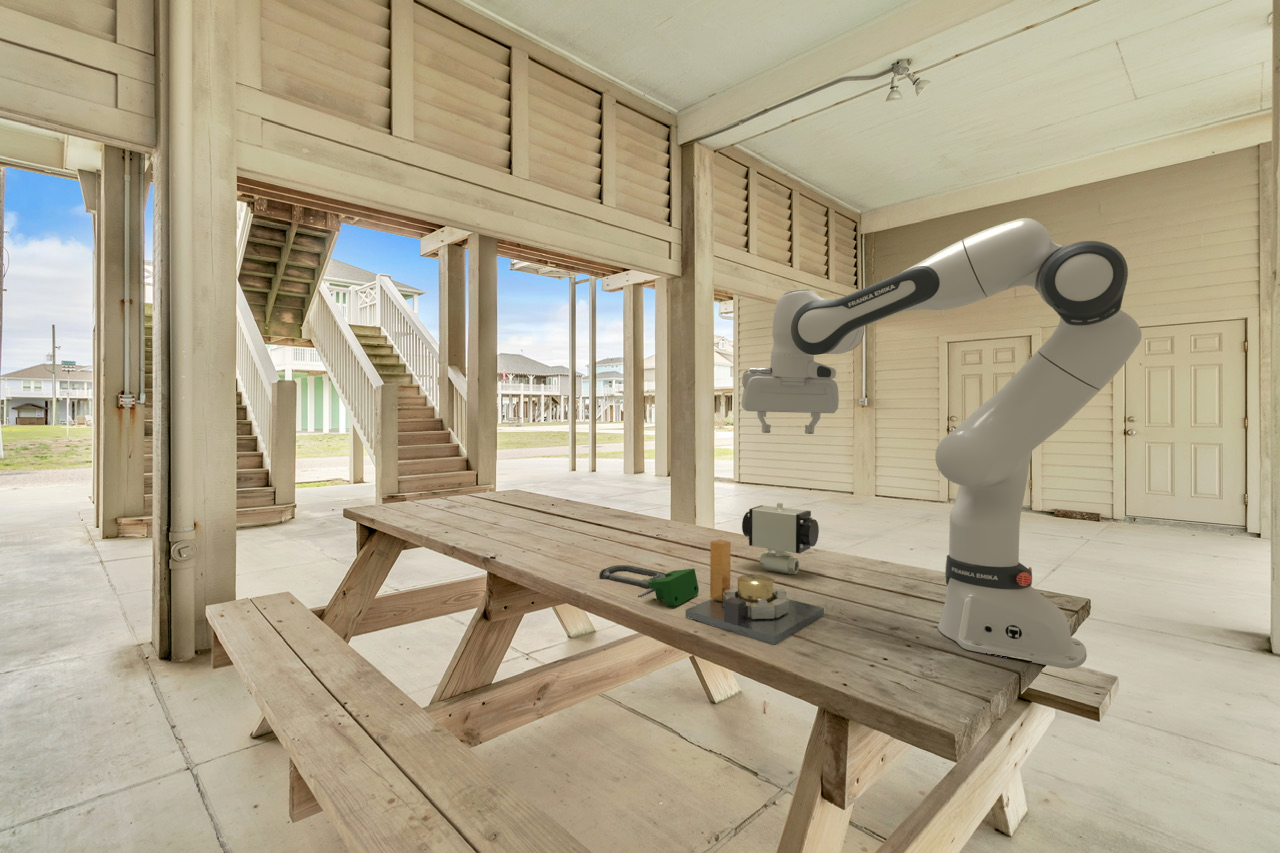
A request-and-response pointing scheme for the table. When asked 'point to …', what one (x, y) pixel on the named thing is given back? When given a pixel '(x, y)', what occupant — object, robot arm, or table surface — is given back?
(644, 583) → the c clamp
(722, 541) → the ring of rectangular blocks
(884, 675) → the table surface
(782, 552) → the ball valve
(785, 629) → the base plate
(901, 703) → the table surface
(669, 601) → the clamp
